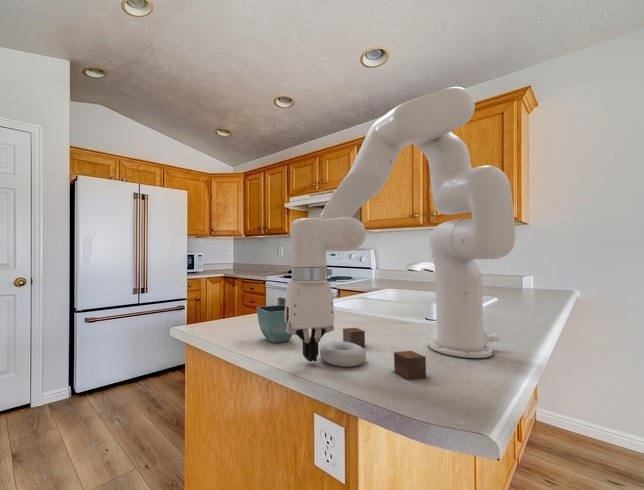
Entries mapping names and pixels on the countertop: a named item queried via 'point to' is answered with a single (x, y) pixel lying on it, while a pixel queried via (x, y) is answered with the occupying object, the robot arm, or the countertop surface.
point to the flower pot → (273, 323)
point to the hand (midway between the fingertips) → (310, 359)
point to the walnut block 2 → (410, 364)
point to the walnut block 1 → (354, 336)
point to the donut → (343, 354)
